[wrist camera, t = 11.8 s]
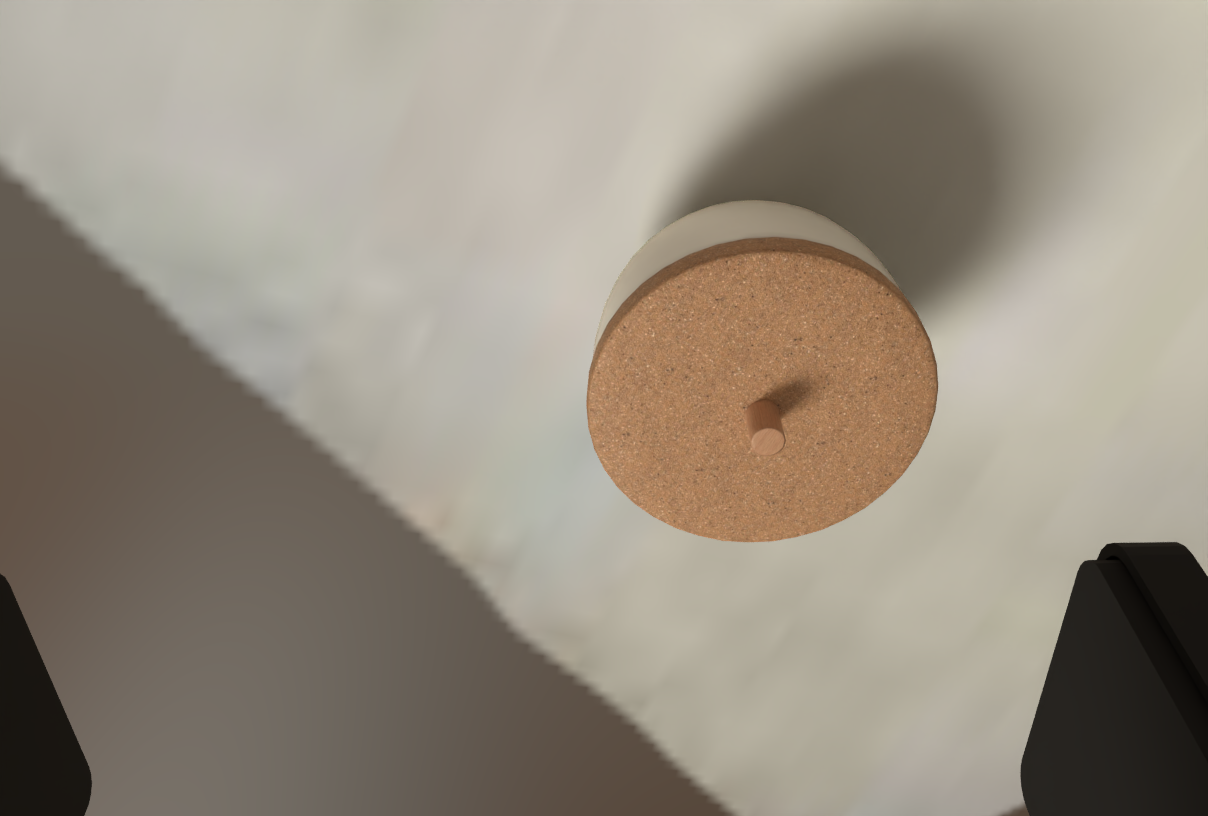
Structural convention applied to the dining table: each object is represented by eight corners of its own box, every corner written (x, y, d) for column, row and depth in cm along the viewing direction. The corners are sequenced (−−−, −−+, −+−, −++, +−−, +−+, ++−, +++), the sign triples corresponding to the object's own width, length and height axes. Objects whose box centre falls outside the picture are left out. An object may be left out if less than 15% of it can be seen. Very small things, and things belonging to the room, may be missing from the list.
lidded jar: (946, 237, 38) (1032, 377, 30) (781, 454, 43) (818, 621, 35) (683, 97, 35) (703, 210, 28) (541, 346, 41) (524, 501, 33)
